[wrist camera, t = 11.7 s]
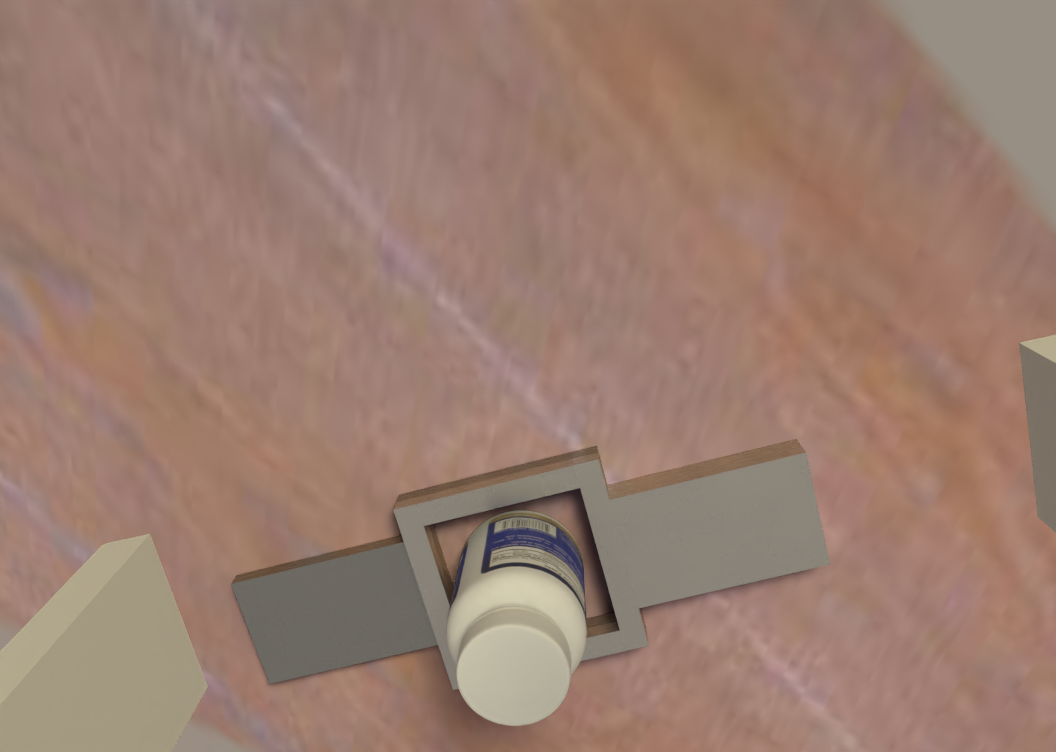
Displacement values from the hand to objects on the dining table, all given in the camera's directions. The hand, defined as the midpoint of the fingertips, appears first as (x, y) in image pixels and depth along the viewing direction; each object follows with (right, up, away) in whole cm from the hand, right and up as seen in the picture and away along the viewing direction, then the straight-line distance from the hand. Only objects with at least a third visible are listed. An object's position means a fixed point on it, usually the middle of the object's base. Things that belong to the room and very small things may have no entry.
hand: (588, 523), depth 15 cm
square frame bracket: (-1, -6, +28) cm, 29 cm away
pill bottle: (-1, -6, +28) cm, 29 cm away
